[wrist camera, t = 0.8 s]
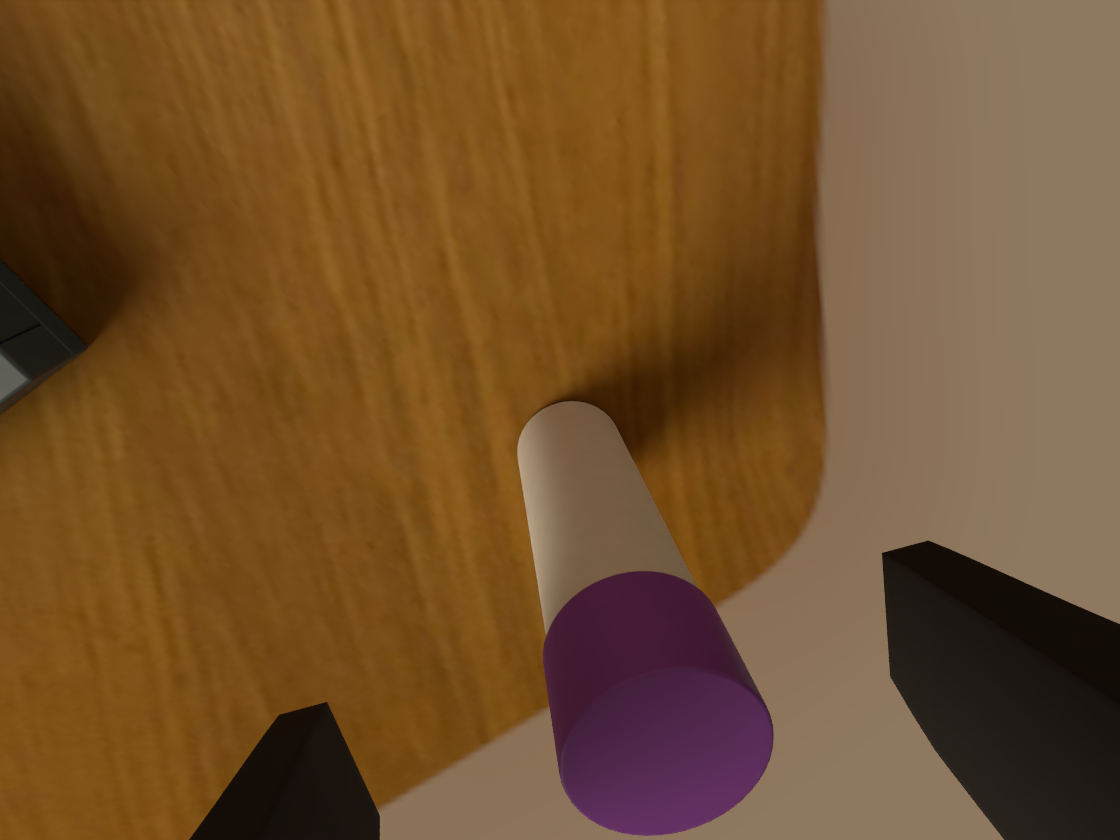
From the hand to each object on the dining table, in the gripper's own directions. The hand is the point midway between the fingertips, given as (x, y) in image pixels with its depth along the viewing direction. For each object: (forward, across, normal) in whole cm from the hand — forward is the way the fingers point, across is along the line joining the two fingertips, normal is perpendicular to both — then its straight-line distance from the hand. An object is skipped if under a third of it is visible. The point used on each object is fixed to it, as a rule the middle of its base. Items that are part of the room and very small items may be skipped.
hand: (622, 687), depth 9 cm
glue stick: (+8, 0, 0) cm, 8 cm away
